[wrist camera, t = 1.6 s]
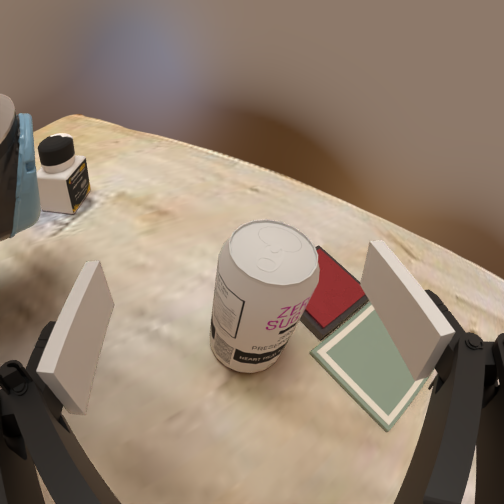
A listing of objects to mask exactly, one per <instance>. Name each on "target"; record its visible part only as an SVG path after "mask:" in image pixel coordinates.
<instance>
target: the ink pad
mask: <svg viewBox="0 0 504 504" xmlns="http://www.w3.org/2000/svg"><path fill="white" fill-rule="evenodd" d="M315 248H316V251H317V254H318V264H319V269H320V272H319V282H318V284H317V286H316V288H315V290H314V292H313V294H312V296H311V298H310V300H309V302H308V304H307V306H306V308H305V310H304V312H303V314H302V316H301V318H300V320H301V321H302V322H303V324H304V325H305V326H306V327H307V328H308V329H309V330H310V331H311V332H312V333H313V334H314V335H315V336H316V337H317V338H318V339H319V340H321V339H323V338H324V337H325V336H326V335H328V334H329V333H330V332H331V331H332V330H334V329H335V328H336V327H337V326H339V325H340V324H341V323H342V322H343V321H345V320H346V319H347V318H348V317H349V316H351V315H352V314H353V313H354V312H355V311H356V310H358V309H359V308H360V307H361V306H362V305H363V304H364V303H366V302H367V301H368V300H369V299H368V297H367V296H366V294H365V292H364V291H363V289H362V287H361V286H360V282H359V281H358V280H357V279H356V278H355V277H354V276H352V275H351V274H350V273H349V272H348V271H347V270H346V269H345V268H344V267H343V266H341V265H340V264H339V263H338V262H337V261H336V260H335V259H334V258H332V257H331V256H330V255H329V254H328V253H327V252H326V251H325V250H323V249H322V248H321V247H320V246H317V247H315Z"/></svg>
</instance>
